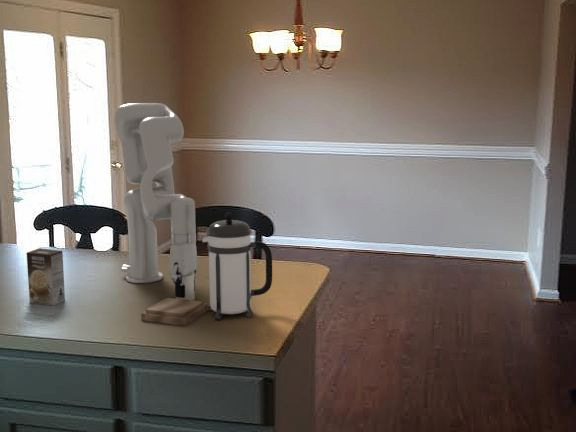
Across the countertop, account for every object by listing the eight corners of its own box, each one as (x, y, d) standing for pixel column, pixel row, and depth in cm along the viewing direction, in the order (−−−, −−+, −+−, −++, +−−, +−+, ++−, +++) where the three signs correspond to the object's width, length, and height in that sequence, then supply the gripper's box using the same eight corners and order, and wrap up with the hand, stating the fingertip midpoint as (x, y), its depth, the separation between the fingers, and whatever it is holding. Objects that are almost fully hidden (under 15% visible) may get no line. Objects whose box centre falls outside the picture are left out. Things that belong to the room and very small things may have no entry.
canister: (173, 300, 216) (172, 273, 214) (182, 295, 221) (181, 269, 219) (189, 302, 214) (188, 275, 212) (197, 297, 219) (196, 270, 217)
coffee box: (28, 303, 214) (24, 252, 211) (42, 297, 220) (38, 247, 217) (53, 306, 211) (49, 254, 208) (66, 300, 217) (63, 250, 214)
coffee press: (238, 325, 193) (237, 219, 187) (194, 315, 201) (191, 214, 196) (273, 309, 207) (273, 210, 202) (231, 300, 216) (229, 205, 210)
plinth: (141, 320, 198) (140, 310, 197) (166, 305, 211) (166, 296, 210) (184, 325, 193) (184, 315, 192) (207, 310, 206) (207, 301, 205)
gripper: (186, 231, 223) (188, 286, 226) (158, 242, 207) (160, 301, 211) (207, 233, 220) (208, 288, 224) (180, 244, 205) (182, 303, 208)
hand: (185, 293), depth 217 cm, fingers closed on canister, 5 cm apart
